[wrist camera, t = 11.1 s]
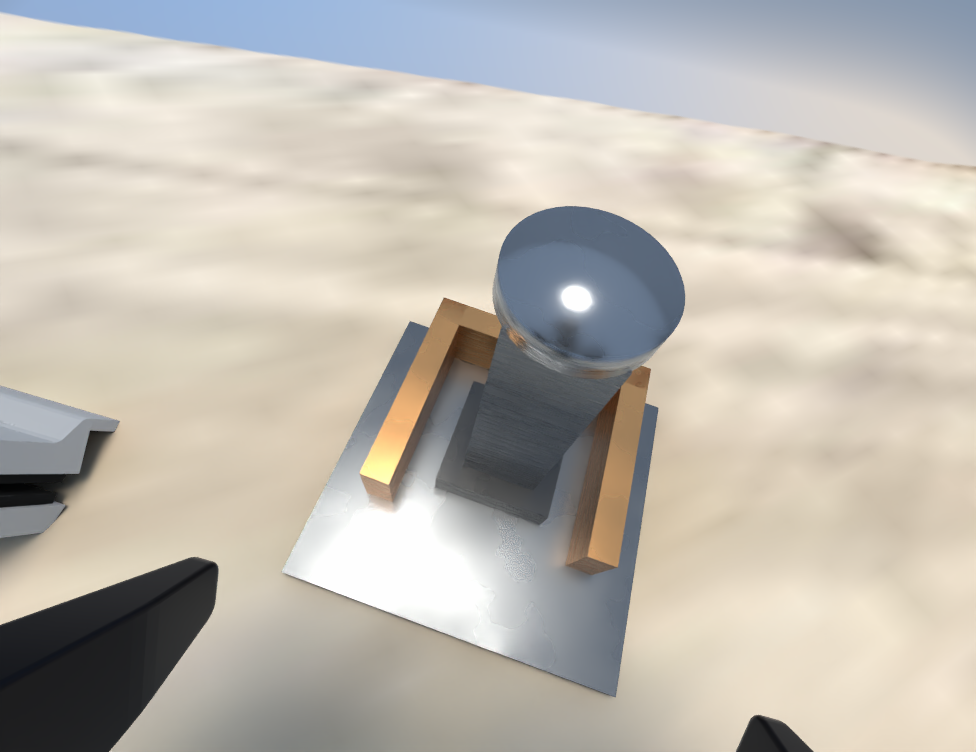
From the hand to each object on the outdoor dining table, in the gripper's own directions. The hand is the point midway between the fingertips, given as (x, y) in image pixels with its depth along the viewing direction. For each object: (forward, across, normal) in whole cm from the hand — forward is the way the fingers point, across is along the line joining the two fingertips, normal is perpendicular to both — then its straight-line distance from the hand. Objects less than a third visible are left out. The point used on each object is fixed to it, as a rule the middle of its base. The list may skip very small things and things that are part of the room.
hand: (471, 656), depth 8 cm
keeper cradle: (+14, 0, +4) cm, 14 cm away
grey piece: (+14, 0, +2) cm, 14 cm away
